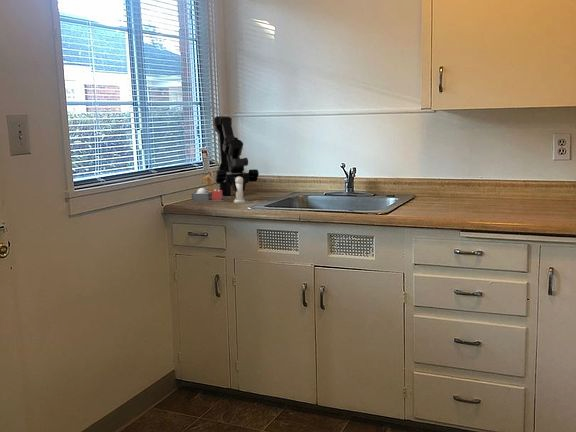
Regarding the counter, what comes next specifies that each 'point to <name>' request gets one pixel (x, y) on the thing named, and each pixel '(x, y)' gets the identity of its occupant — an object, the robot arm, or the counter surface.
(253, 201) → the track board
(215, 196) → the popper base
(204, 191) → the dome
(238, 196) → the pawn
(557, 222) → the counter surface
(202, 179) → the figurine
